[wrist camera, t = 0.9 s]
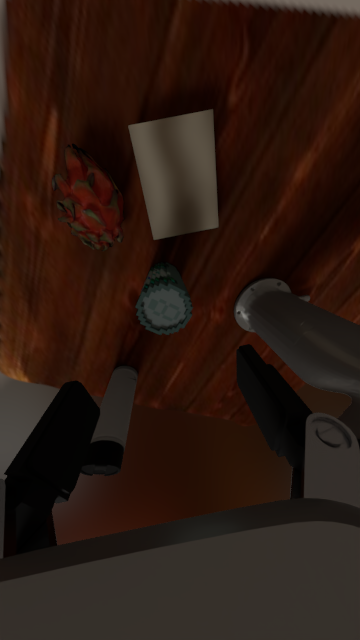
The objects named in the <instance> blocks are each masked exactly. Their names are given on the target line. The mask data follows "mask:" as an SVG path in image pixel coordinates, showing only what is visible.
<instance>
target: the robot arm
mask: <svg viewBox="0 0 360 640" xmlns="http://www.w3.org/2000/svg"><path fill="white" fill-rule="evenodd" d="M309 300H310V296H309V295H303V296H297V295H295V294H292V293H291V290H290V288H289V286H288V285H287V284H286V283H285V282H283V281H281V280H279V279H275V278H264V279H260V280H257V281H255V282H253V283H251V284H250V285H248V286H247V287H246V288H245V289H244V290H243V291H242V292H241V293H240V295H239V296H238V298H237V300H236V303H235V306H234V316H235V319H236V321H237V323H238V324H239V325H240V326H241V327H242V328H243V329H245V330H247V331H250V332H256V333H257V334H258V335H259V336H260V337H261V338H262V339H263V340H264V341H265V342H266V343H267V344H268V345H269V346H270V347H271V348H272V349H273V351H274V352H275V353H276V354H277V355H278V356H279V357H280V358H281V359H282V360H283V361H284V362H285V363H286V364H287V365H288V366H289V367H290V368H291V369H292V370H293V371H294V372H295V373H296V374H297V375H298V376H299V377H300V378H301V379H302V380H304V381H305V382H306V383H308V384H310V385H312V386H314V387H316V388H319V389H323V390H327V391H332V392H338V393H344V394H347V395H349V396H350V397H351V399H352V403H351V405H350V406H349V407H348V408H347V409H346V410H345V411H344V412H343V414H342V415H341V416H339V417H338V418H335V417H333V416H330V415H328V414H324V413H312V411H311V410H310V409H309V408H308V407H307V406H306V404H305V403H304V402H303V401H302V400H301V399H300V397H299V396H298V395H297V394H296V393H295V391H294V390H293V389H292V388H291V387H290V386H289V384H288V383H287V382H286V381H285V380H284V378H283V377H282V376H281V375H280V374H279V373H278V371H277V370H276V369H275V368H274V367H273V366H272V365H270V364H267V365H266V363H265V362H264V361H263V360H262V358H261V357H260V356H259V355H258V353H257V352H256V351H255V350H254V348H253V347H252V346H251V345H250V344H248V345H243V346H240V347H239V349H237V383H238V386H239V388H240V390H241V392H242V394H243V396H244V398H245V400H246V402H247V404H248V406H249V408H250V410H251V412H252V414H253V416H254V418H255V420H256V422H257V423H258V425H259V427H260V429H261V431H262V433H263V435H264V437H265V439H266V441H267V443H268V445H269V447H270V449H271V450H275V451H276V453H277V455H278V457H281V456H285V457H286V458H287V460H288V462H289V464H290V465H291V466H292V479H291V493H290V500H280V501H274V502H269V503H263V504H257V505H252V506H246V507H241V508H236V509H231V510H226V511H221V512H216V513H211V514H206V515H201V516H196V517H191V518H186V519H181V520H176V521H172V522H168V523H162V524H157V525H153V526H147V527H143V528H138V529H133V530H128V531H124V532H119V533H114V534H109V535H105V536H100V537H95V538H90V539H86V540H81V541H76V542H72V543H68V544H62V545H58V546H57V540H56V534H55V528H54V521H53V515H52V508H53V505H54V503H60V502H66V501H68V499H69V496H70V494H71V492H72V491H73V490H74V488H75V486H76V483H77V480H78V477H79V474H80V472H81V469H82V466H83V463H84V460H85V457H86V454H87V451H88V448H89V446H90V443H91V440H92V437H93V434H94V431H95V428H96V425H97V423H98V420H99V417H100V409H99V407H98V406H97V404H96V403H95V402H94V400H93V399H92V397H91V396H90V394H89V393H88V392H87V390H86V389H85V387H84V386H83V385H82V383H80V382H78V381H71V382H66V383H64V385H63V386H62V387H61V389H60V390H59V392H58V393H57V395H56V396H55V398H54V399H53V401H52V403H51V404H50V405H49V407H48V409H47V410H46V411H45V413H44V414H43V416H42V417H41V419H40V421H39V422H38V424H37V425H36V427H35V428H34V430H33V431H32V433H31V434H30V436H29V437H28V439H27V440H26V442H25V443H24V445H23V446H22V448H21V449H20V451H19V452H18V454H17V455H16V457H15V458H14V460H13V461H12V463H11V464H10V466H9V467H8V469H7V470H6V472H5V473H4V474H5V475H7V478H6V479H5V481H4V480H3V479H0V640H360V325H358V324H355V323H353V322H351V321H349V320H346V319H344V318H342V317H340V316H337V315H335V314H333V313H331V312H329V311H326V310H324V309H322V308H320V307H318V306H315V305H313V304H311V303H309V302H307V301H309Z"/></svg>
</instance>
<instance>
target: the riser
mask: <svg viewBox="0 0 360 640" xmlns="http://www.w3.org/2000/svg"><path fill="white" fill-rule="evenodd" d="M128 127H129V131H130V136H131V140H132V145H133V149H134V154H135V158H136V163H137V167H138V171H139V176H140V180H141V185H142V189H143V194H144V198H145V203H146V207H147V211H148V216H149V220H150V225H151V229H152V234H153V238H154V240H156V239H161V238H166V237H171V236H177V235H182V234H187V233H192V232H197V231H202V230H207V229H212V228H217V227H219V225H218V204H217V183H216V162H215V141H214V121H213V109H211V110H206V111H201V112H195V113H190V114H185V115H180V116H175V117H170V118H165V119H159V120H154V121H149V122H144V123H139V124H134V125H129V126H128Z"/></svg>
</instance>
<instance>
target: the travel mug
mask: <svg viewBox="0 0 360 640" xmlns="http://www.w3.org/2000/svg"><path fill="white" fill-rule="evenodd" d="M137 377H138V373H137V371H136V370H135V369H134V368H132V367H130V366H119V367H117V368H116V369H115V370H114V371H113V374H112V376H111V379H110V382H109V385H108V387H107V390H106V393H105V396H104V398H103V401H102V404H101V407H100V417H99V420H98V423H97V425H96V428H95V431H94V434H93V437H92V440H91V443H90V446H89V448H88V451H87V454H86V457H85V460H84V463H83V466H82V469H81V472H80V473H82V474H85V475H90V476H92V475H93V474H105V476H110V475H114V474H117V473H119V472H120V469H121V464H122V459H123V453H124V449H125V444H126V438H127V433H128V427H129V421H130V416H131V410H132V405H133V399H134V393H135V388H136V382H137Z"/></svg>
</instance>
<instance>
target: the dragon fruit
mask: <svg viewBox="0 0 360 640" xmlns="http://www.w3.org/2000/svg"><path fill="white" fill-rule="evenodd" d="M72 146H73V149H76V150H77V152H78V153H79V157H80V158H79V157H76V153H74V151H73V150H72V149H71V147H70V145H68V146H67V148H66V149H65V159H66V168H67V172H68V176H67V180H66V181H64V180H63V178H62V177H61V174H56V175H55V176H54V177H53V178H52V185H53V189H54V191H55V190H56V189H58V188H60V189H61V191H62V193H63V194H64V197H65V198H64V199H63V200H58V201H57V207H58V209H59V210H60V211H62V212H66V213H67V214H66V215H64V216H63V217H61V218H58V220H59V221H62V222H67V224H68V225H69V227H71V228H72V229H71V234H72V235H75V236H79V238H80V239H81V240H82V241H83V243H84V244H86V245H88V246H90V247H91V248H92V249H95V248H96V249H100V248H101V246H103V247H104V250H102V251H105V250H107V249H108V247H112V246H113V244H114V241H115V240H114V238H116V237H117V241H118V242H120V243H121V242H122V240H123V238H124V237H123V230H122V229H121V227H120V224H121V223H122V221H123V220H124V219H125V217H124V215H123V207H124V200H123V197H122V194H121V193H120V191H119V190H118V188H117V186H116V185H115V183H114V181H113V180H112V178H111V176H110V174H109V173H108V171H107V170H106V169H105V171H104V170H103V169H102V168H101V167H100V166H99V165H98V164H97V163H96V162H95V161H94V160H93V158H92V157H91V156H90V155H89V154H88V153H87V152H86V151H84V150H83V149H81V148H78V147H77V146H76V145H75V144H72ZM57 149H58V148H57ZM55 181H56V183H55ZM63 207H65V209H66V210H65V209H64V208H63Z"/></svg>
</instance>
